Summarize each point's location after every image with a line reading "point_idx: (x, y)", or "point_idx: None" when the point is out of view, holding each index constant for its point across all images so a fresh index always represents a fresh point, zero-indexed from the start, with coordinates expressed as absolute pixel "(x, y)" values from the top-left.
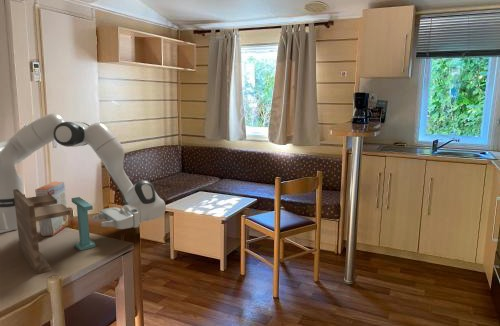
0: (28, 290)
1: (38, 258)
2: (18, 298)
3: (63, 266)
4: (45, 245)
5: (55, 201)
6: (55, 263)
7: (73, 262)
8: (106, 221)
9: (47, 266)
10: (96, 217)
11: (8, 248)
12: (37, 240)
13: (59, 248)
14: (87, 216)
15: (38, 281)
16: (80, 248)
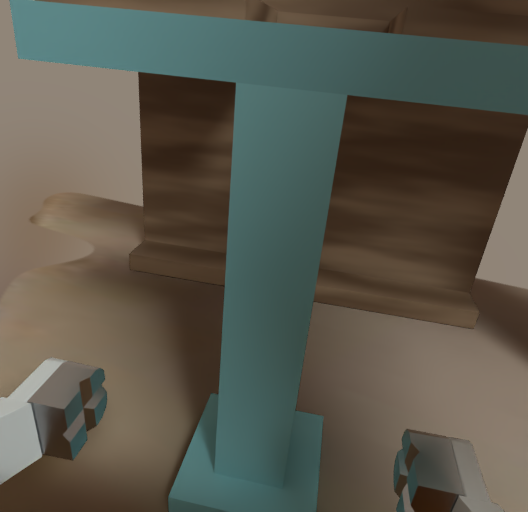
0: (75, 216)
1: (144, 197)
2: (65, 202)
3: (109, 295)
4: (448, 356)
5: (404, 22)
6: (172, 295)
7: (97, 326)
8: (15, 409)
9: (137, 250)
10: (410, 477)
11: (490, 287)
12: (140, 121)
13: (348, 370)
14: (228, 229)
15: (95, 236)
16: (209, 402)
